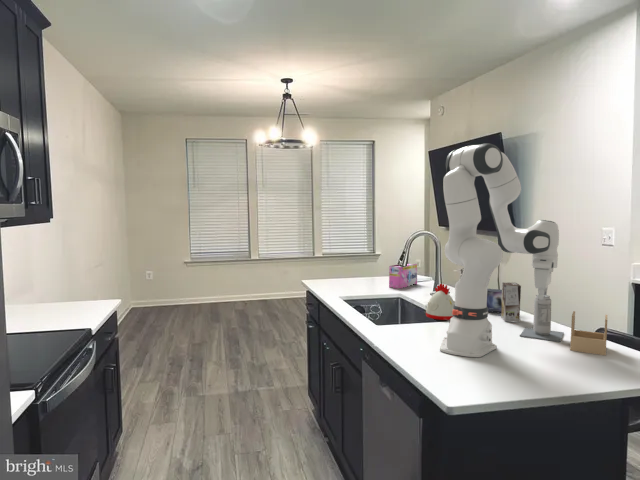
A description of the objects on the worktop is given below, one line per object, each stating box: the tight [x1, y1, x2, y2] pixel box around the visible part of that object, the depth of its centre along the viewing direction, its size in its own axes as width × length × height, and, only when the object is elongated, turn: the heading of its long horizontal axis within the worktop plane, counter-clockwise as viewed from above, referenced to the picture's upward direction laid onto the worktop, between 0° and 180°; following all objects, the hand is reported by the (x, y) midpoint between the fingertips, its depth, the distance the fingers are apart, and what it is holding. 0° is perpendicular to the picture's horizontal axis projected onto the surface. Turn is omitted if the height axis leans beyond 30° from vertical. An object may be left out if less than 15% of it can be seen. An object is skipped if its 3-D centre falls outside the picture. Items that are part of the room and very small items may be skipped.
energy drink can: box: [533, 294, 552, 335], centre depth 181 cm, size 6×6×15 cm
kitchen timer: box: [425, 283, 455, 321], centre depth 212 cm, size 14×14×15 cm
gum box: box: [388, 262, 418, 289], centre depth 295 cm, size 24×8×14 cm, turn 140°
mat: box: [519, 327, 564, 343], centre depth 182 cm, size 14×14×1 cm
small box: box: [487, 288, 502, 314], centre depth 222 cm, size 11×6×10 cm, turn 68°
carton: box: [569, 310, 608, 356], centre depth 164 cm, size 11×11×12 cm
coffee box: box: [500, 282, 522, 323], centre depth 206 cm, size 9×6×16 cm
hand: (542, 297), depth 181 cm, fingers open, 8 cm apart
